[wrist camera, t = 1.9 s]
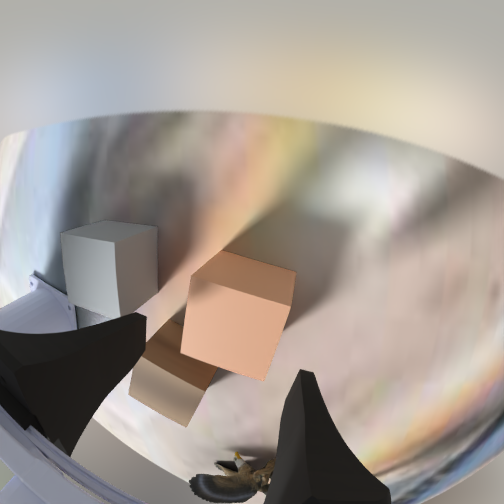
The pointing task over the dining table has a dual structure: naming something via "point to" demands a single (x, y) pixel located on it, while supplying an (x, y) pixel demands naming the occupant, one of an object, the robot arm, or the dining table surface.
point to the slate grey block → (110, 266)
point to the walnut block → (170, 376)
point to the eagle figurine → (233, 482)
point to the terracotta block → (237, 313)
